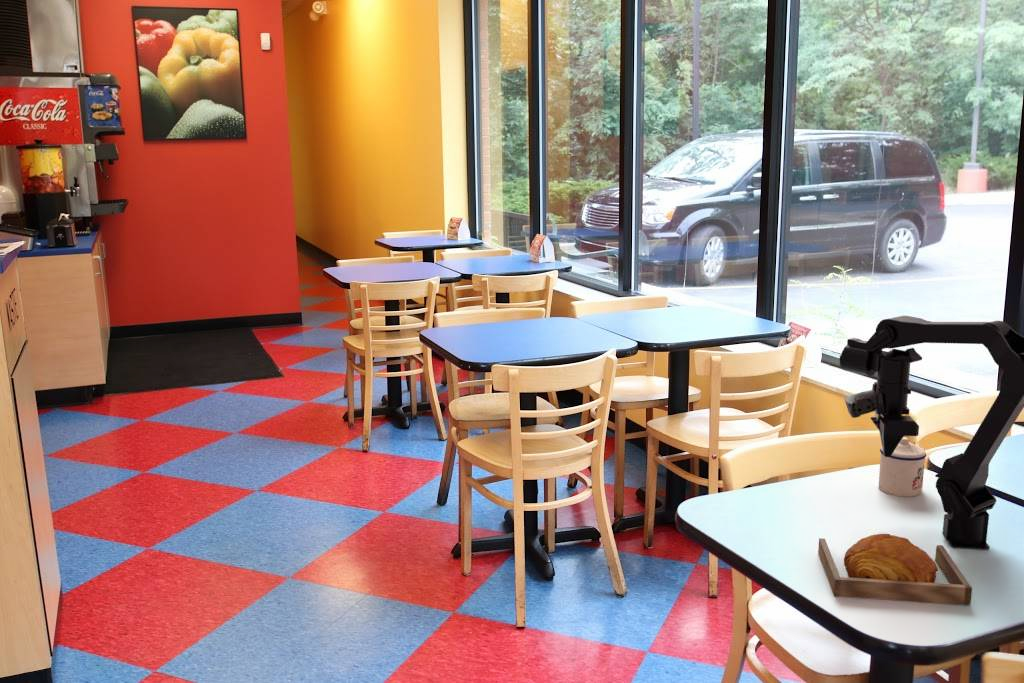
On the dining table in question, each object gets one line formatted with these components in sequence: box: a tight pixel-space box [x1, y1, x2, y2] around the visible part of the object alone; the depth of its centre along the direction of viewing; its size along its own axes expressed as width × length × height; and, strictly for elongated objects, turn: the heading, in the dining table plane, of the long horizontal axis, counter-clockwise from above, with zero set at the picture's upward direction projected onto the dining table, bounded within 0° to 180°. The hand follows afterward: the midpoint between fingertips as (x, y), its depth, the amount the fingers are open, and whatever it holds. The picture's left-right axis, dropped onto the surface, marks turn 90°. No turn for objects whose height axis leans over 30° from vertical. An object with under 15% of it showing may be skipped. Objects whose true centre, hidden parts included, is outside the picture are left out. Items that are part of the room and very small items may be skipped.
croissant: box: [843, 533, 939, 583], centre depth 152 cm, size 14×16×8 cm
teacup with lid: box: [878, 436, 927, 498], centre depth 192 cm, size 12×9×12 cm
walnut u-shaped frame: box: [817, 537, 973, 606], centre depth 153 cm, size 21×16×3 cm
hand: (887, 456), depth 177 cm, fingers closed
